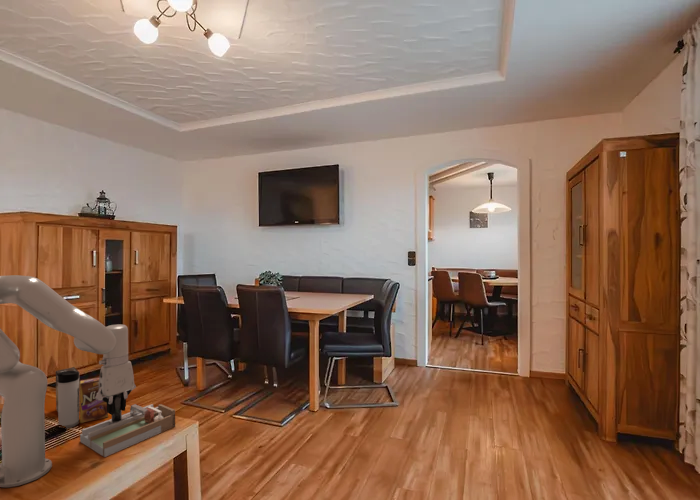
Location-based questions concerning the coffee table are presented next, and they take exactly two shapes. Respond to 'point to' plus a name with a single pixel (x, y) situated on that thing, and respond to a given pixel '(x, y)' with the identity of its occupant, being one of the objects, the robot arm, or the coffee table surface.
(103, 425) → the pitch board
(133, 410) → the kicker rod
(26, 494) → the coffee table surface
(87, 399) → the candy box
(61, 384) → the travel mug
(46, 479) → the coffee table surface
